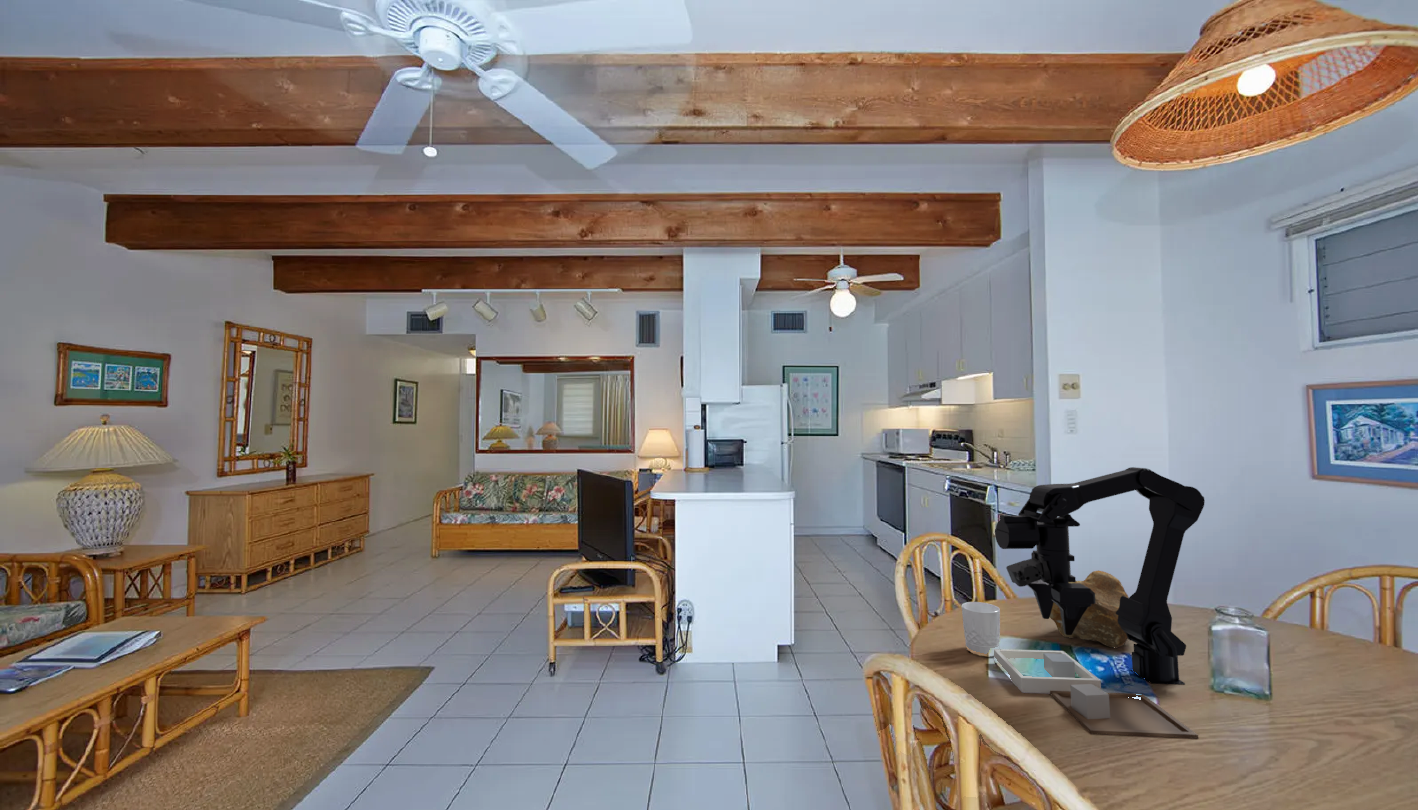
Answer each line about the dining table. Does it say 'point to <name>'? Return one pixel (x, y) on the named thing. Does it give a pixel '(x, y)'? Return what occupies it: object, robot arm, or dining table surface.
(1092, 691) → the small grey cuboid
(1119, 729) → the walnut tray
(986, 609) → the white cup
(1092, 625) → the rough brown rock
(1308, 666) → the dining table surface
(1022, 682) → the cream dish
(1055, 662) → the grey block
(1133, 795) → the dining table surface
